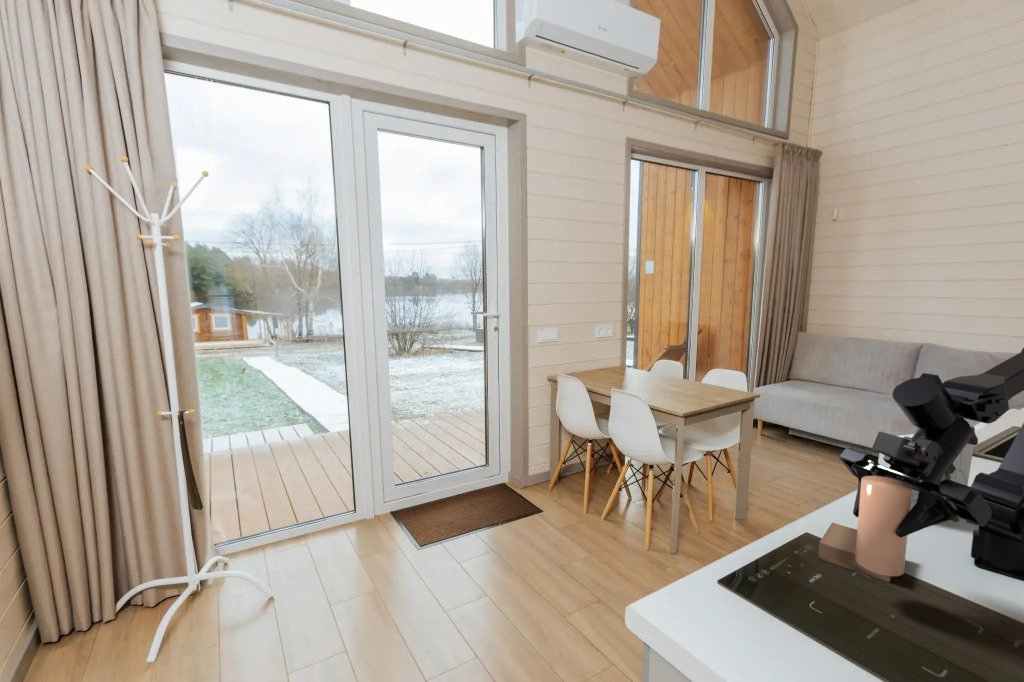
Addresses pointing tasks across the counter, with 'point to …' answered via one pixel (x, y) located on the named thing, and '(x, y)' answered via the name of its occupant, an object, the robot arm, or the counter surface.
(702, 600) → the counter surface
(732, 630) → the counter surface
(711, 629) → the counter surface
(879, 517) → the canister
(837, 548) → the podium
